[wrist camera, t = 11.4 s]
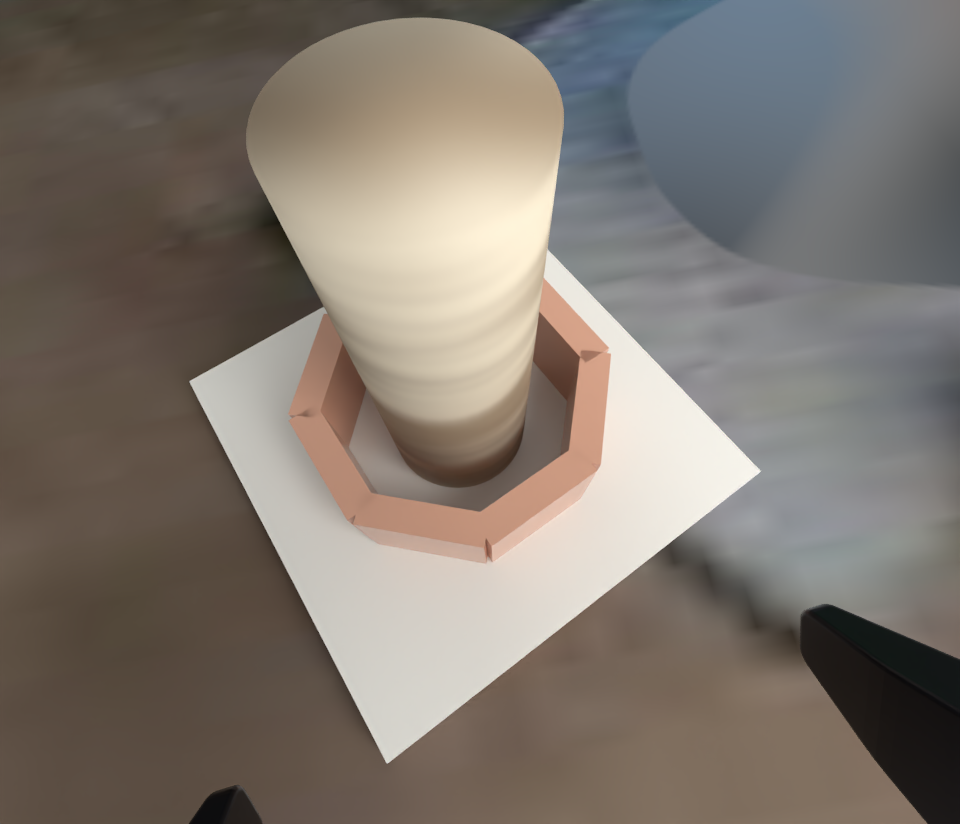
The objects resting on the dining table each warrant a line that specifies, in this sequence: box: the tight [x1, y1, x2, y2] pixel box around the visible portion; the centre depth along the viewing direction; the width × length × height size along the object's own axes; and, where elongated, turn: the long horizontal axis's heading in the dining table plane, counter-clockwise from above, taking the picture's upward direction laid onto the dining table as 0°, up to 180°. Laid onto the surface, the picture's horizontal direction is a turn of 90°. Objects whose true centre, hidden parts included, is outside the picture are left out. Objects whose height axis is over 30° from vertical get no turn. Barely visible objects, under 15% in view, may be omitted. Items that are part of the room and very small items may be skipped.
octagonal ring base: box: [189, 249, 761, 764], centre depth 19 cm, size 16×16×4 cm
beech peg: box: [246, 18, 564, 488], centre depth 14 cm, size 5×5×13 cm
